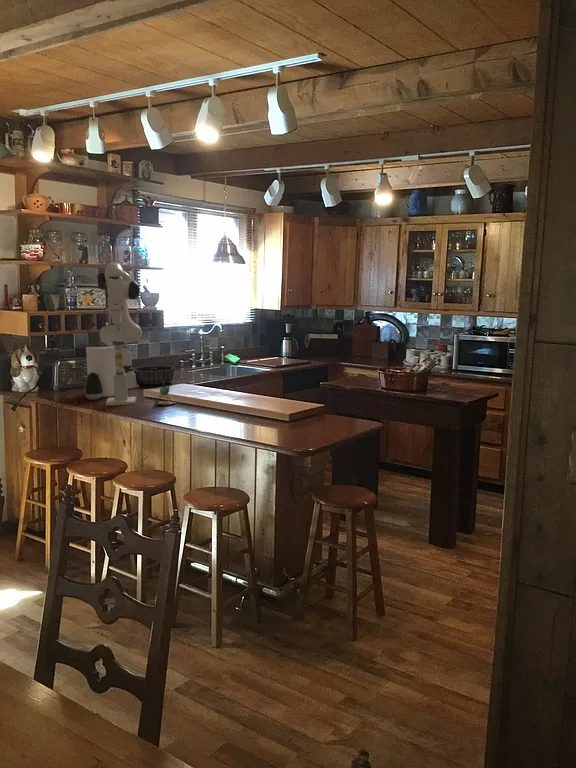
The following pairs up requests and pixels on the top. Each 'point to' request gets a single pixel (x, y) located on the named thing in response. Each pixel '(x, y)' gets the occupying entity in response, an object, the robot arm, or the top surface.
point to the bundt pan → (154, 374)
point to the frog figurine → (161, 390)
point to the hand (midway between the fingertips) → (117, 331)
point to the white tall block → (102, 366)
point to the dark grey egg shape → (93, 387)
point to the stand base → (120, 392)
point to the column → (119, 357)
